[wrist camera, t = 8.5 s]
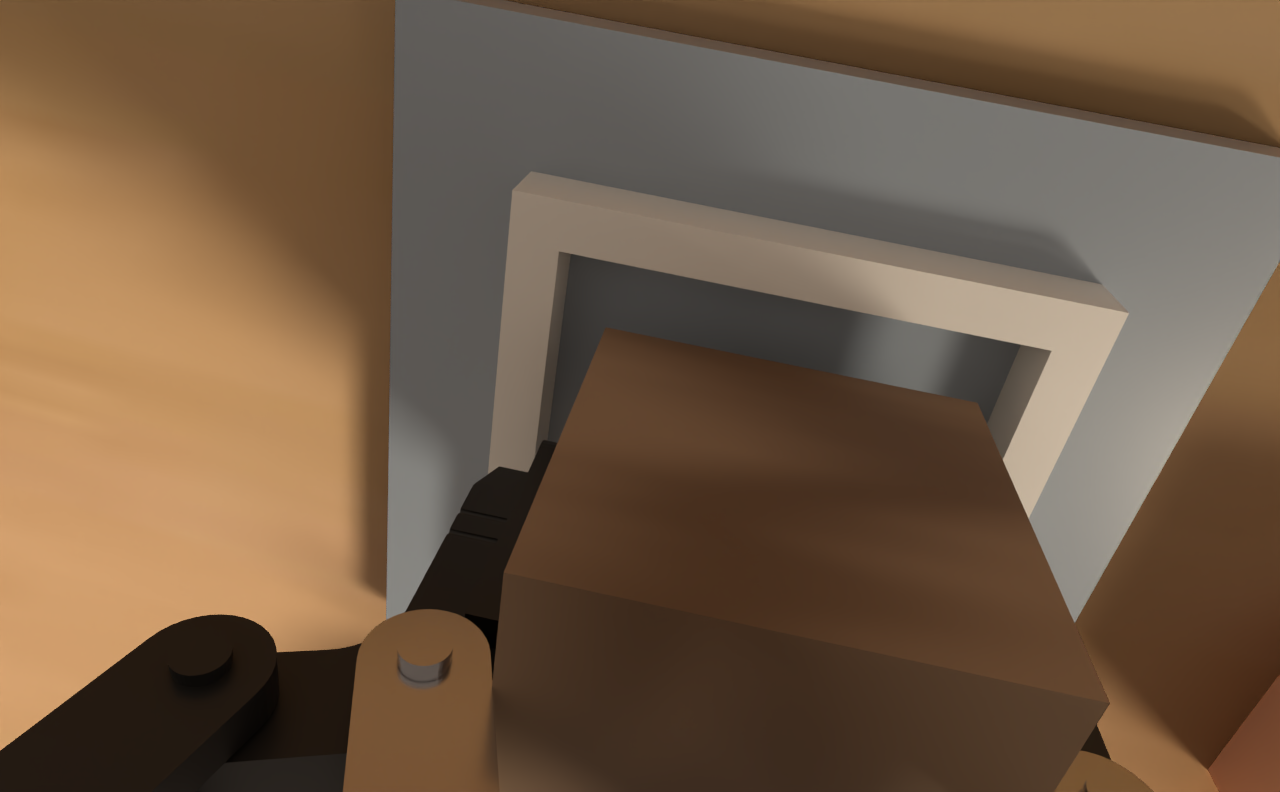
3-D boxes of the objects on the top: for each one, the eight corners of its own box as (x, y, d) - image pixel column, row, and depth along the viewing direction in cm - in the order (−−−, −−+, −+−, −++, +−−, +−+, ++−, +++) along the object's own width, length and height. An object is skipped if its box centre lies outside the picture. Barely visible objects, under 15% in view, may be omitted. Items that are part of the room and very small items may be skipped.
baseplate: (1289, 149, 11) (1384, 189, 10) (974, 737, 17) (997, 828, 16) (423, -15, 12) (363, -6, 10) (404, 612, 18) (365, 685, 16)
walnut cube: (977, 402, 11) (1110, 702, 7) (867, 668, 14) (913, 1014, 9) (605, 327, 11) (504, 571, 7) (563, 602, 14) (468, 911, 9)
